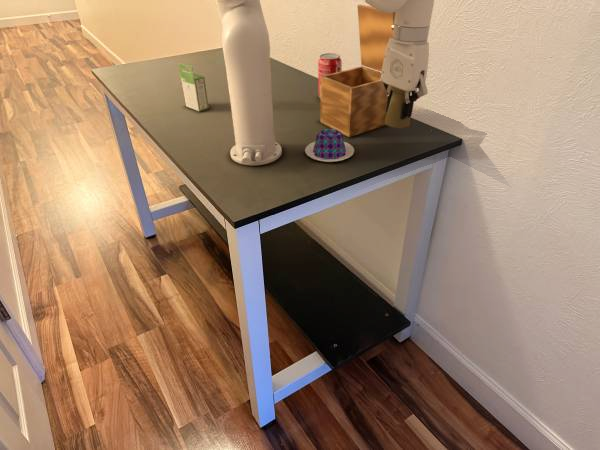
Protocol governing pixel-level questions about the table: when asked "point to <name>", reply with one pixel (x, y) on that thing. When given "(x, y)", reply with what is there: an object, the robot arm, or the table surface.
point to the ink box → (194, 89)
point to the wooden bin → (353, 101)
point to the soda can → (328, 66)
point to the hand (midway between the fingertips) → (398, 114)
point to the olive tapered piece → (396, 110)
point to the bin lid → (374, 35)
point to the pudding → (329, 146)
